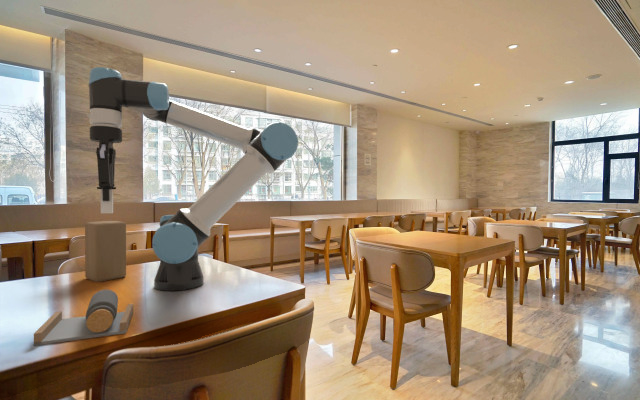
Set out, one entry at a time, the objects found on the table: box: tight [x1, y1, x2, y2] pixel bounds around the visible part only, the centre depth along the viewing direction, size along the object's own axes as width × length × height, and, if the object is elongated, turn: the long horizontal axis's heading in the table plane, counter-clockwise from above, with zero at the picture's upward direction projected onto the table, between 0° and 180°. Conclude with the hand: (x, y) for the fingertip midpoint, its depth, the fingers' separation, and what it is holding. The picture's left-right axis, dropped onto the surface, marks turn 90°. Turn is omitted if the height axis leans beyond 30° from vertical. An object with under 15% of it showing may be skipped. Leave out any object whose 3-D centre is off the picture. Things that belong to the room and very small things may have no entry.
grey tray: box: [33, 303, 134, 346], centre depth 75 cm, size 16×13×2 cm
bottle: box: [85, 289, 119, 332], centre depth 77 cm, size 6×6×15 cm
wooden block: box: [84, 220, 127, 283], centre depth 119 cm, size 10×10×20 cm
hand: (107, 213), depth 92 cm, fingers closed
